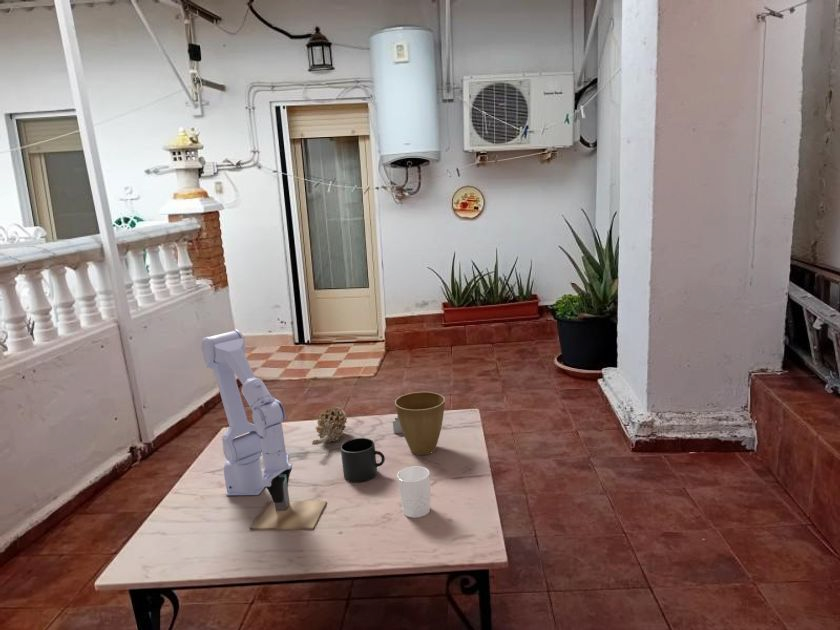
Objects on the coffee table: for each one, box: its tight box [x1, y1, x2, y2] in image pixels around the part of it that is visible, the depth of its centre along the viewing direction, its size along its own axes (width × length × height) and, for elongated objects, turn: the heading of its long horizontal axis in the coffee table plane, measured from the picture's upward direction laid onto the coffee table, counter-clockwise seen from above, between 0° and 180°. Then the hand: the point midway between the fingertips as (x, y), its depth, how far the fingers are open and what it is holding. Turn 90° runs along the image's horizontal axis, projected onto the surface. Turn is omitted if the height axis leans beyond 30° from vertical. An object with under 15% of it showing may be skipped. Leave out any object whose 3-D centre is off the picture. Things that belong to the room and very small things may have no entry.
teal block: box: [275, 474, 291, 511], centre depth 152 cm, size 3×3×9 cm
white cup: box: [396, 465, 431, 519], centre depth 146 cm, size 8×8×10 cm
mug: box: [340, 437, 386, 483], centre depth 167 cm, size 9×12×9 cm
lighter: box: [392, 415, 403, 435], centre depth 194 cm, size 7×2×8 cm, turn 93°
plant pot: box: [394, 391, 446, 456], centre depth 179 cm, size 15×15×16 cm
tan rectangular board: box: [248, 500, 328, 531], centre depth 149 cm, size 16×12×1 cm
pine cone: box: [311, 406, 348, 446], centre depth 189 cm, size 22×10×10 cm, turn 173°
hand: (280, 498), depth 152 cm, fingers closed on teal block, 3 cm apart
